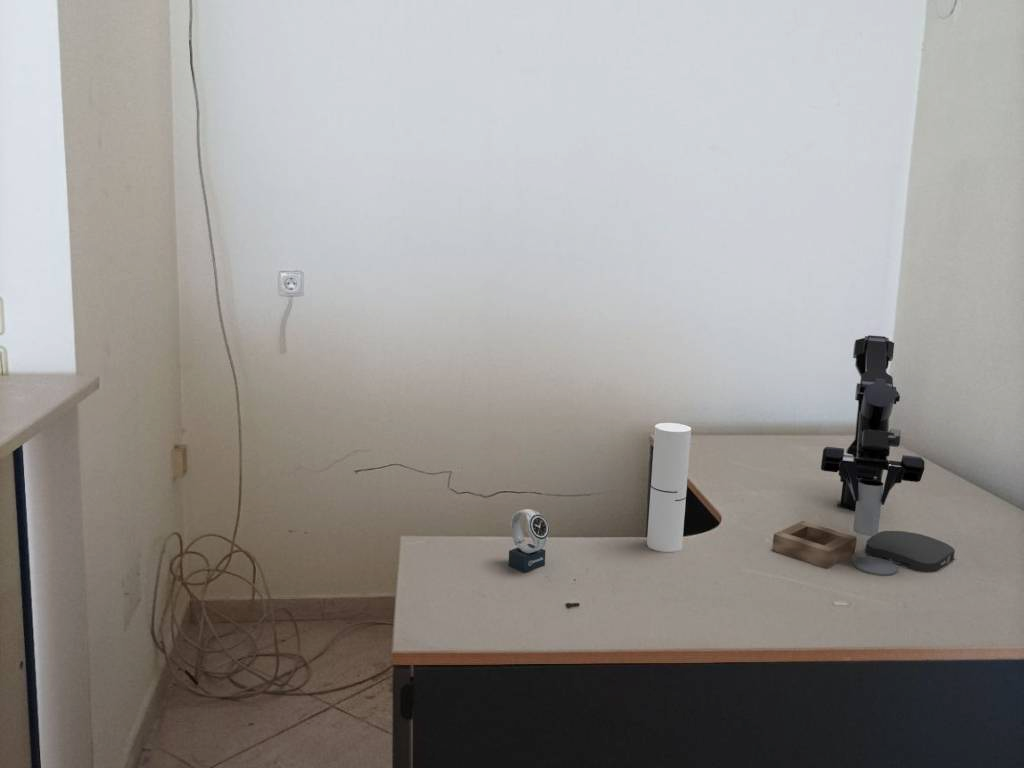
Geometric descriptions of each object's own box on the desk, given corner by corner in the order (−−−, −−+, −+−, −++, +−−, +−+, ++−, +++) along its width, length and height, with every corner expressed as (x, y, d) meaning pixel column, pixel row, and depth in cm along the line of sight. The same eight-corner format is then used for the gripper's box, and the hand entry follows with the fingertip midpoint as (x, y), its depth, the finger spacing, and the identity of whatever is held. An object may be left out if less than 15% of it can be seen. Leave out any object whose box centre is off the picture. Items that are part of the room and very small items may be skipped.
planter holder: (772, 550, 189) (773, 534, 188) (801, 536, 197) (802, 520, 196) (827, 568, 180) (829, 551, 180) (855, 553, 189) (857, 536, 188)
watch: (532, 576, 172) (534, 520, 170) (502, 563, 178) (503, 508, 175) (552, 568, 176) (555, 513, 174) (522, 555, 181) (524, 502, 179)
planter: (881, 536, 180) (887, 485, 177) (859, 536, 179) (864, 485, 177) (871, 527, 184) (877, 478, 182) (849, 527, 184) (854, 478, 181)
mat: (846, 566, 182) (846, 563, 182) (864, 556, 187) (864, 553, 187) (886, 579, 176) (886, 576, 176) (903, 568, 182) (904, 565, 182)
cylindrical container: (643, 538, 192) (651, 422, 187) (677, 538, 193) (685, 422, 188) (651, 552, 185) (659, 431, 180) (686, 552, 186) (695, 432, 181)
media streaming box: (889, 537, 199) (890, 524, 198) (959, 558, 189) (961, 544, 188) (858, 554, 189) (860, 540, 188) (930, 577, 179) (932, 563, 178)
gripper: (827, 407, 183) (822, 476, 175) (929, 417, 177) (928, 489, 170) (823, 435, 192) (817, 502, 184) (920, 446, 186) (918, 516, 179)
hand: (869, 502), depth 179 cm, fingers closed on planter, 4 cm apart
